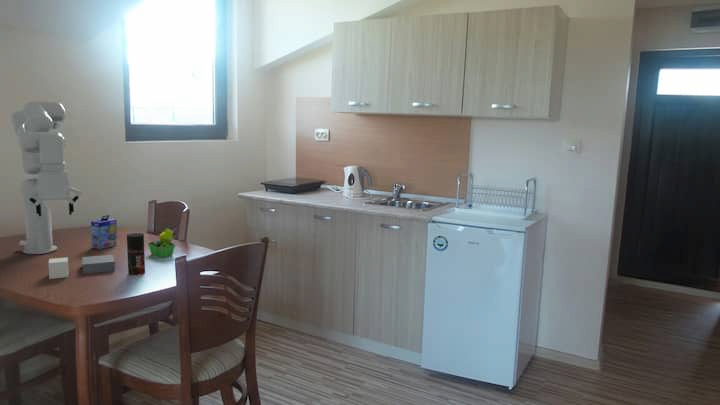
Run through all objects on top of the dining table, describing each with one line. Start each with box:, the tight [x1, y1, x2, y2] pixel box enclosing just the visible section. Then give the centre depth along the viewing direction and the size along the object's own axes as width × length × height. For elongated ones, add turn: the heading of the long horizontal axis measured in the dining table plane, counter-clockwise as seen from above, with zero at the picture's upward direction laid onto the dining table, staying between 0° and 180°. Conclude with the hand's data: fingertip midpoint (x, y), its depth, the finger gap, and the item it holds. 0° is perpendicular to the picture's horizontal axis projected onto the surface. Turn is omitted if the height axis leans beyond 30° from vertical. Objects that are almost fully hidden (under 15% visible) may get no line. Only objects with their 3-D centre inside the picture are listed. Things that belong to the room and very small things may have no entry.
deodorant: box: [126, 232, 146, 276], centre depth 200 cm, size 6×6×15 cm
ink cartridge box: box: [90, 214, 118, 250], centre depth 238 cm, size 10×6×14 cm, turn 158°
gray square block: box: [81, 254, 116, 275], centre depth 206 cm, size 11×11×4 cm
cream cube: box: [48, 257, 70, 280], centre depth 195 cm, size 6×6×6 cm
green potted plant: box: [147, 228, 176, 259], centre depth 227 cm, size 11×9×11 cm
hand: (55, 214), depth 192 cm, fingers open, 9 cm apart
